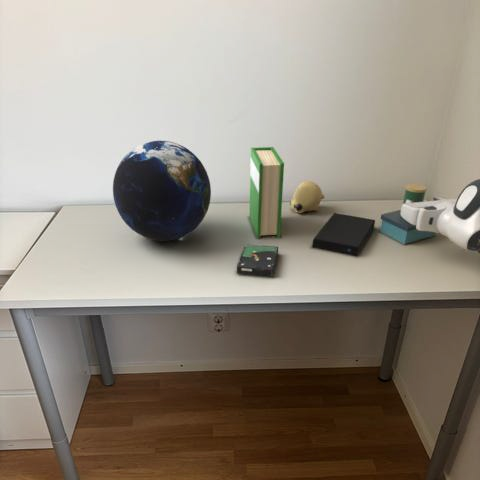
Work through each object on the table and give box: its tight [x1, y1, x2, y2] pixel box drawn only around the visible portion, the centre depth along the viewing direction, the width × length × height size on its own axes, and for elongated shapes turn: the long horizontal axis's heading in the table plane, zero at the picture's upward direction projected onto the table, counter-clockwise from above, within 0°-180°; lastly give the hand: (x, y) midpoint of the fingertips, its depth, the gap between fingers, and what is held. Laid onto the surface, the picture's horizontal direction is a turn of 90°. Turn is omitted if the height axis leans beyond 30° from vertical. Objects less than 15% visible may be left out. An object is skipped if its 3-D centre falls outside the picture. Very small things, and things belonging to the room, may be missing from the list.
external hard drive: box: [311, 212, 376, 257], centre depth 166 cm, size 14×23×3 cm, turn 155°
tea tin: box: [401, 182, 427, 219], centre depth 163 cm, size 6×6×10 cm
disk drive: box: [236, 244, 279, 277], centre depth 150 cm, size 10×3×15 cm
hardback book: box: [249, 146, 285, 239], centre depth 167 cm, size 18×7×24 cm, turn 7°
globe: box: [112, 140, 212, 242], centre depth 158 cm, size 30×30×30 cm
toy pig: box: [289, 180, 326, 214], centre depth 183 cm, size 10×12×11 cm
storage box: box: [379, 209, 436, 245], centre depth 168 cm, size 14×12×6 cm
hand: (421, 200), depth 159 cm, fingers open, 8 cm apart
